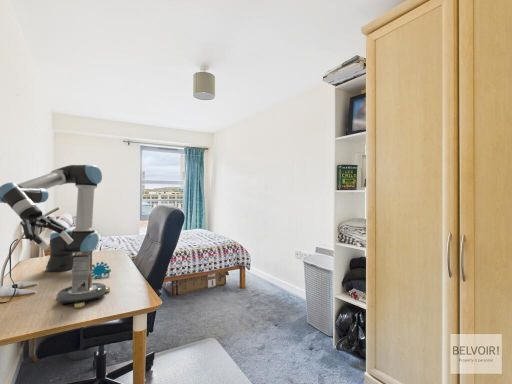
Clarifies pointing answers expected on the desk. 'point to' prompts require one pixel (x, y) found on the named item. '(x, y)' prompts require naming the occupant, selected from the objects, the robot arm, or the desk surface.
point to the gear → (100, 270)
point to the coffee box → (81, 271)
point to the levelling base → (82, 295)
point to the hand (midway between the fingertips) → (59, 245)
